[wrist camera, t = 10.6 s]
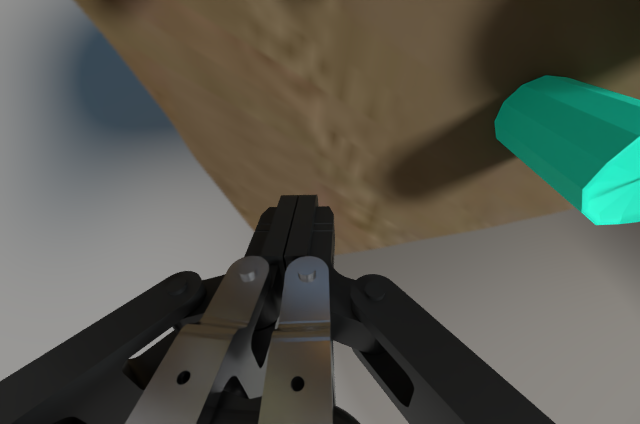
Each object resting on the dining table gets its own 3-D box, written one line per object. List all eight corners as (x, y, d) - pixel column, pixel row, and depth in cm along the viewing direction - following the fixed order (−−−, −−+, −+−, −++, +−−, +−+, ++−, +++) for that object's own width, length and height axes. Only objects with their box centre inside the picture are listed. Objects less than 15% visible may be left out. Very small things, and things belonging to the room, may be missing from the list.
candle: (477, 136, 23) (570, 226, 14) (533, 61, 20) (710, 112, 10) (536, 160, 24) (662, 260, 14) (599, 92, 21) (820, 165, 11)
